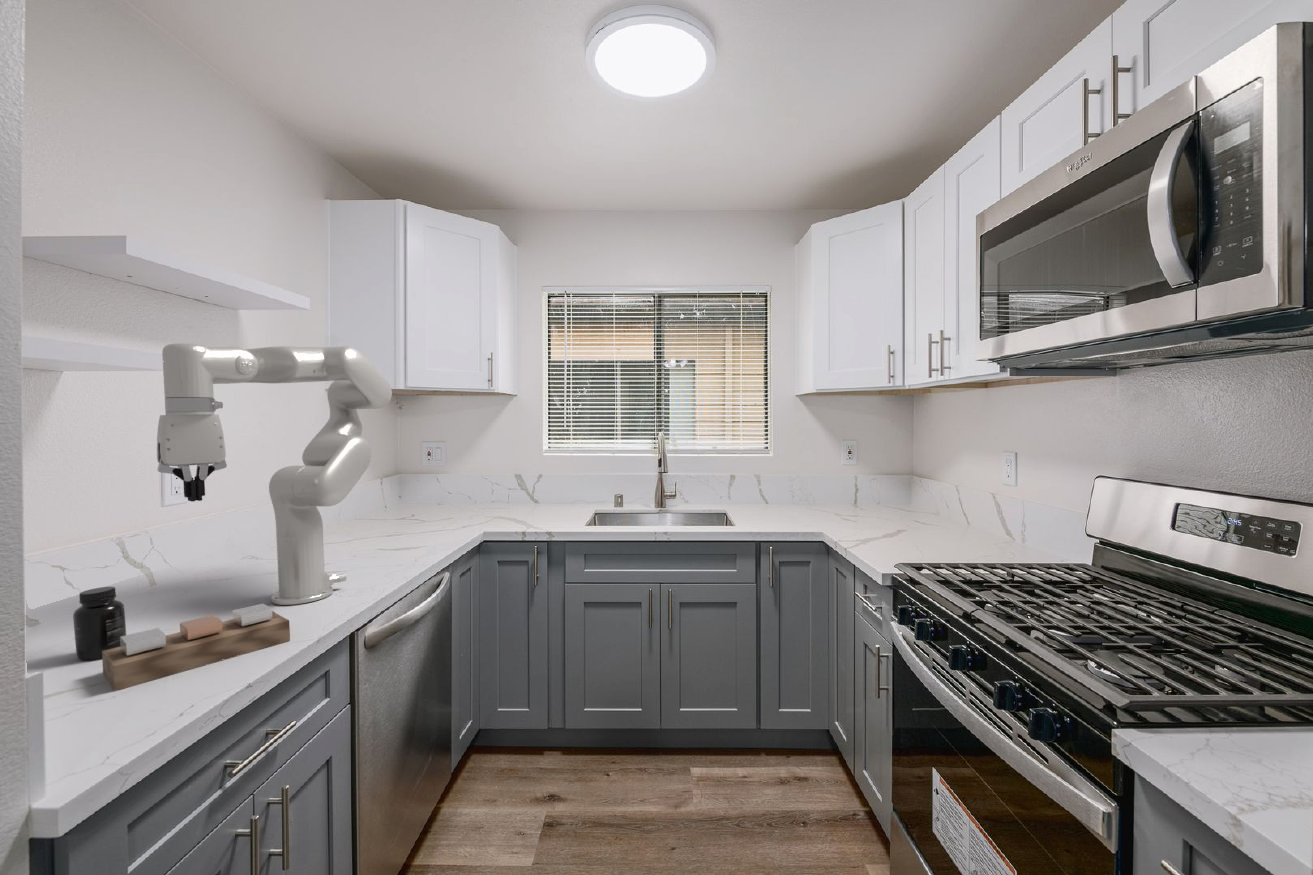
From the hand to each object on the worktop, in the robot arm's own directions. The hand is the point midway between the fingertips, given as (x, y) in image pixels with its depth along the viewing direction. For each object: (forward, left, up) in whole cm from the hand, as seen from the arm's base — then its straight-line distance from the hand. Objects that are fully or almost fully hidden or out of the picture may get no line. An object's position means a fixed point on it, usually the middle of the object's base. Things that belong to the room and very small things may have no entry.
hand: (194, 500), depth 114 cm
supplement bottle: (+14, -4, -27) cm, 31 cm away
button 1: (+11, +13, -27) cm, 32 cm away
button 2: (-5, +13, -27) cm, 30 cm away
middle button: (+3, +13, -27) cm, 30 cm away
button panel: (+3, +13, -27) cm, 30 cm away
